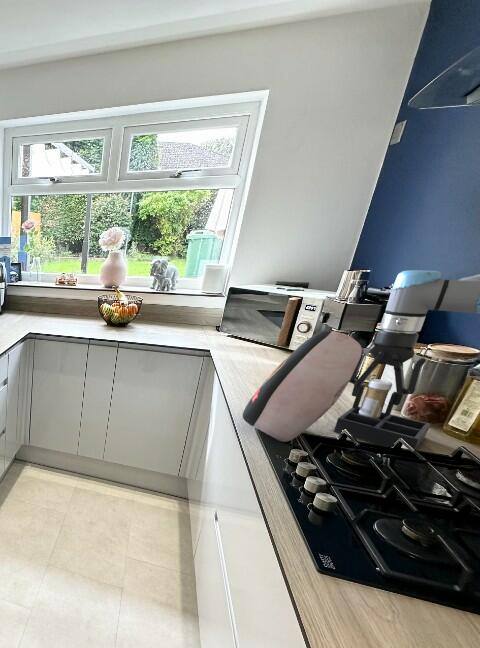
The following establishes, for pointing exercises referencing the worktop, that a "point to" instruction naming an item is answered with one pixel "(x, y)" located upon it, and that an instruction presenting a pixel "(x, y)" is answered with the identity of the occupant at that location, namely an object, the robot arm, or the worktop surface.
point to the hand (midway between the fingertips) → (370, 410)
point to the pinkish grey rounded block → (304, 385)
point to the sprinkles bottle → (375, 398)
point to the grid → (382, 428)
